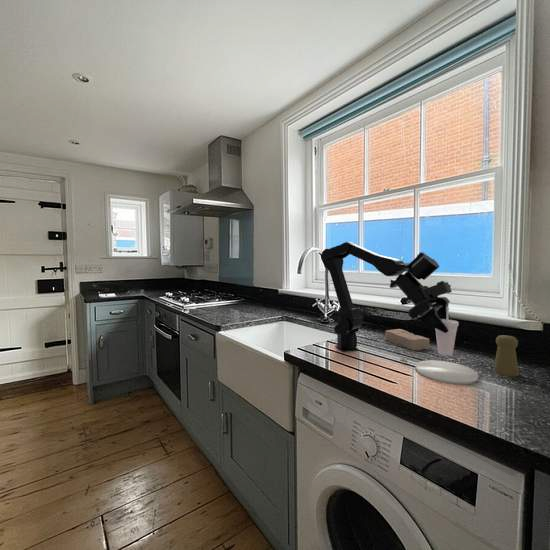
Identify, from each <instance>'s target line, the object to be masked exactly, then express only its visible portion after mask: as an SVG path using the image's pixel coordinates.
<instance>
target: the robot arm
mask: <svg viewBox="0 0 550 550" xmlns="http://www.w3.org/2000/svg"><path fill="white" fill-rule="evenodd" d="M350 255H352V256H353V257H355V258H357V259H360V260H361V261H363V262H365V263H368V264H370V265H372V266H373V267H375V269H376V271H379V272H380V273H381V274H382V275H384V276H386V277H396V278H395V279H390V284H389V288H391V289H395V288H399V289H400V290H401V292H402V293H403V294H404V295H405V296H406V298H405V300H407V301H410V302H411V303H412V304H413V306H412V307H411V308H410V309H409V310H408V316H409V317H410V318H411V320H413V321H414V320H417V321H419V322H421V323H424V324H426V325H428V326H430V327H433V328H434V329H435V328H436V329H438V330H440V331H442V332H444V333H447V332H448V331H449V330H448V329H447V327H446V326H445V324H444V323H443V322H442V320H441V319H446V310H447V307H449V304H450V302H451V301H450V300H449V299H448V297H446V296H441V295H445V294H450V293H453V292H452V289H451V287H452V285H451V284H449V282H448V281H445V280H440V281H438V282H436V284H434V285H432V286H427V285H422V283H421V282H420V280H421V279H422V280H423V281H424V280H426V279H427V278H428V277H430V276H431V275H432V274H434V272H436V271H437V270H438V269H439V268H440V264H439V263H438V262H437V261H436V260H435V259H434V258H432V257H430V256H429V255H427V254H426V253H425V252H419V253H418V254H417V255H416V257H415V258H414V259H412V261H410V263H407V262H404V261H403V260H402V259H398V258H395V257H390V256H386V255H381V254H379V253H376V252H374V251H372V250H369V249H368V248H365V247H363V246H361V245H359V244H356V243H355V242H352V241H345V242H343V243H341V244H338V245H336V246H333V247H331V248H324V249H323V250H322V252H321V254H320V259H321V262H322V264H323V267H325V268H326V270H327V271H328V272H329V273H330V277H331V280H332V284H333V288H334V291H335V295H336V297H337V298H336V299H337V301H338V305H339V313H338V319H339V322H338V323H337V324H336V325H335V326H334V327H333V330H334V334H337V336H336V337H337V338H336V340H337V341H336V343H337V344H336V345H334V346H335V348H337V349H338V350H339V351H342V352H349V351H351V352H352V351H358V350H359V347H358V336H357V333H358V332H359V330H360V328H361V327H362V325H363V323H364V321H363V319H364V317H365V316H363V314H362V309H361V308H360V307H357V308H356V306H355V305H354V304H353V301H352V297H351V294H350V291H349V287H348V284H347V281H346V277H345V273H344V271H343V267H344V259H346V258H347V257H348V256H350ZM419 316H420V317H419ZM448 320H453V319H452V317H451V315H450V314H449V316H448Z"/></svg>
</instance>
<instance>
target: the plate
mask: <svg viewBox="0 0 550 550" xmlns="http://www.w3.org/2000/svg"><path fill="white" fill-rule="evenodd" d="M414 367H415V368H414V369H415V372H417V374H419V375H420V376H422V377H424V378H427V379H430V380H433V381H436V382H440V383H446V384H453V385H471V384H475V383H477V382H478V380H479V373H478V372H477V371H476V370H475V369H472V368H471V367H469V366H466V365H463V364H460V363H456V362H450V361H445V360H444V361H443V360H432V359H431V360H429V359H427V360H420V361H418V362H416V363H415V366H414Z"/></svg>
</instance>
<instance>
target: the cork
mask: <svg viewBox="0 0 550 550" xmlns="http://www.w3.org/2000/svg"><path fill="white" fill-rule="evenodd" d="M495 343H496V345H497V349H496V354H495V358H494V364H493V369H492V371H493V372H494V373H496V374H498V375H502V376H507V377H518V376H520V375H519V374H520V373H519V367H518V359H517V358H518V357H517V352H516V348H517V347H518V346H519V340H518V339H517V338H516V336H512V335H505V334H502V335H498V336H497V337H496V338H495Z"/></svg>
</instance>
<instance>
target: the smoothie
mask: <svg viewBox="0 0 550 550" xmlns="http://www.w3.org/2000/svg"><path fill="white" fill-rule="evenodd" d="M449 311H450V306H448V307H447V310H446V319H441V320H442V322H443V323H444V324H445V326H446V327H447V329H448V330H449V331H448V332H447V333H444V332H442V331H440V330H438V329H436V328H434V329H435V336H436V337H435V338H436V346H437V353H438V354H439V355H441V356H453V353H454V348H455V343H456V342H455V341H456V336H457V332H458V327H459V324H460V323H459V321H457V320H454V319H452V320H448V316H449V315H450V314H449V313H450V312H449Z"/></svg>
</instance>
